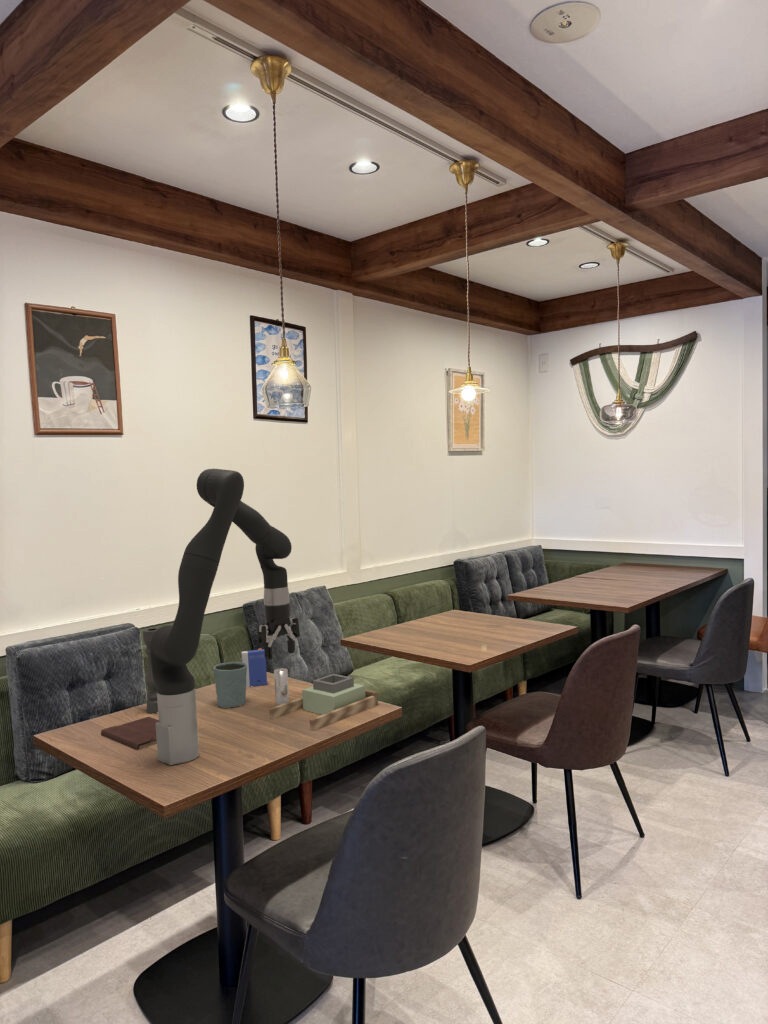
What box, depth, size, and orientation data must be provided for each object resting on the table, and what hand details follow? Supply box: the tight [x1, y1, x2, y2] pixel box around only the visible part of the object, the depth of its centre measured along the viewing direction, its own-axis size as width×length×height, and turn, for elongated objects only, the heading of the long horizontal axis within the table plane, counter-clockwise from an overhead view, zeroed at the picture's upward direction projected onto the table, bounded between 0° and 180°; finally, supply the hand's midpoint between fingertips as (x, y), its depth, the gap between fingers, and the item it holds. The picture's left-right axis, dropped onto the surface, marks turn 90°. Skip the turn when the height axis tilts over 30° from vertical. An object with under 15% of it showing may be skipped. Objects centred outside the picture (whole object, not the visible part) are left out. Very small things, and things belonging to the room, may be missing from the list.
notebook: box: [100, 716, 159, 751], centre depth 203 cm, size 15×20×2 cm
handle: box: [273, 667, 290, 707], centre depth 218 cm, size 4×4×12 cm
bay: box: [268, 689, 379, 732], centre depth 211 cm, size 26×18×5 cm
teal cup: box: [213, 661, 247, 709], centre depth 226 cm, size 10×10×12 cm
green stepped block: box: [301, 673, 366, 715], centre depth 214 cm, size 13×13×8 cm
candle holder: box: [142, 627, 160, 714], centre depth 223 cm, size 6×6×25 cm
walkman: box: [241, 648, 268, 688], centre depth 246 cm, size 8×3×12 cm, turn 105°
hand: (280, 655), depth 218 cm, fingers open, 8 cm apart
